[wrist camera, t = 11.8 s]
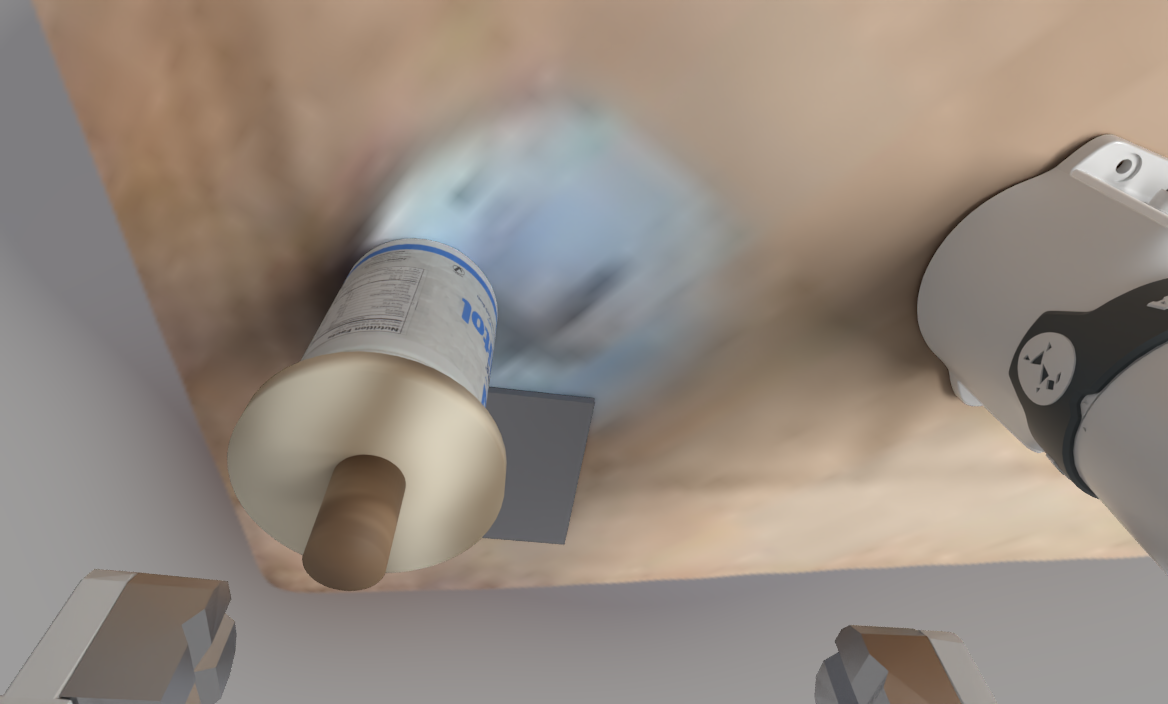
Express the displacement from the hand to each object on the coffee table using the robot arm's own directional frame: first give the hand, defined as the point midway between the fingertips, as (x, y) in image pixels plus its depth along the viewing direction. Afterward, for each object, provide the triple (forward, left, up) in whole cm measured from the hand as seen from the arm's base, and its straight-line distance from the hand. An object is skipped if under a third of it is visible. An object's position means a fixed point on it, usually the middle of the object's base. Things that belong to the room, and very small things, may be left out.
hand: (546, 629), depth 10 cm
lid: (+6, +15, -20) cm, 25 cm away
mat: (+1, +28, -34) cm, 44 cm away
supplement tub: (+6, +15, -34) cm, 38 cm away
